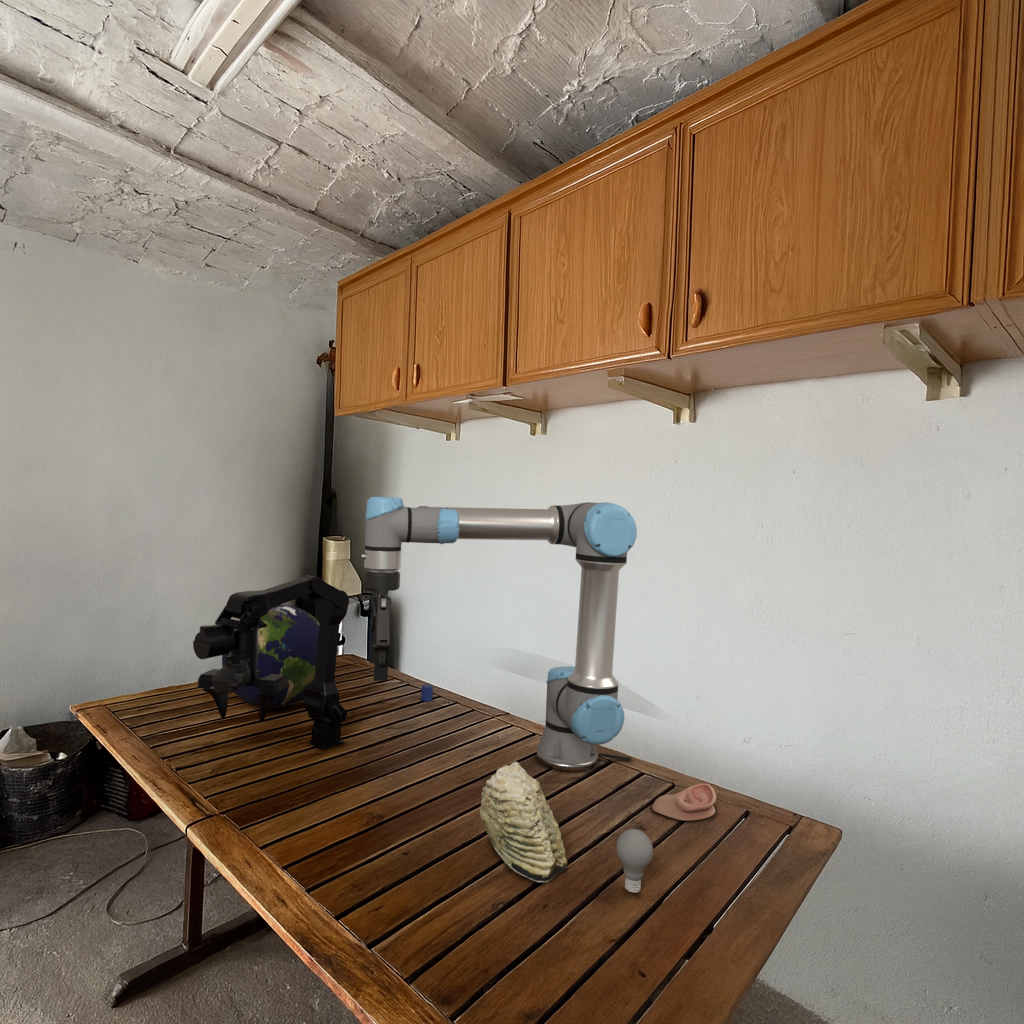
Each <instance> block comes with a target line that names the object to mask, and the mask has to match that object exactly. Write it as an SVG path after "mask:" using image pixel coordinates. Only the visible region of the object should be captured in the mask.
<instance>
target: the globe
mask: <svg viewBox="0 0 1024 1024" xmlns="http://www.w3.org/2000/svg"><path fill="white" fill-rule="evenodd" d="M261 620H262V621H263V622H264V623H266V624H267V627H265V628H259V629H258V652H261V657H259V658H258V663H257V670H260V675H258V676H257V678H265V677H266V676H268V675H270V674H279V675H286V677H287V678H288V687H287V688H285V689H284V690H282V691H280V692H279V693H277V694H276V696H275V698H274V699H273V701H272V703H271V705H270V707H269V709H282V708H285V707H289V706H293V705H295V704H298V703H299V702H301V701H303V700H304V689H305V688H306V687H310V686H311V684H312V683H313V681H314V677H315V666H316V656H317V645H318V635H319V621H318V619H317V618H315V616H314V615H312V614H311V613H310V612H308V611H305V610H304V609H302V608H299V607H297V606H292V605H290V604H289V605H288V604H281V605H278V606H275V607H274V608H272V609H271V610H270V611H269V612H268V613H267V614H266V615H264V616H262V617H261ZM227 656H230V653H229V654H225V655H221V666H222V667H221V668H223V667H224V666H225V660H226V657H227ZM249 682H251V681H249ZM259 693H261V692H260V691H259V690H258V687H254V686H244V687H238V688H237V690H236V691H235V692H234V693H233V694H235V695H236V696H237V697H238V698H239V699H240V700H242V701H244V702H245V703H247V704H248V705H251V706H254V707H258V708H260V699H259V697H258V696H257V695H258V694H259Z"/></svg>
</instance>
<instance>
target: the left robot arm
mask: <svg viewBox="0 0 1024 1024" xmlns="http://www.w3.org/2000/svg"><path fill="white" fill-rule="evenodd" d="M303 597H307V598H308V599H309V600H311V601H312V602H313V603H314V604H313V605H314V614H315V616H316V620H317V621H318V622H319V635H318V645H317V656H316V666H315V677H314V681H313V683H312V684H311V686H310V687H306V688H305V689H304V699H303V700H302V704H304V705H303V707H304V710H305V711H306V712H307V715H308V719H311V720H312V719H313V721H312V722H313V723H312V727H311V730H310V731H311V732H310V733H311V735H310V739H309V740H308V743H309V744H310V745H313V746H314V747H316V748H318V749H320V750H327V749H329V748H333V747H336V746H340V745H343V744H344V743H345V741H344V740H343V739H341V737H342V735H341V733H342V723H343V722H346V720H347V717H348V714H349V713H348V711H347V709H346V708H344V707H343V706H342V705H341V704H340V691H339V689H338V686H337V684H336V681H335V678H336V666H337V656H338V646H339V636H340V635H339V633H340V626H341V624H342V622H343V620H344V619H345V618H346V616H347V613H348V610H349V609H348V608H349V605H350V595H348V594H347V592H346V591H345V590H341V589H338V588H337V587H335V586H333V585H331V584H330V583H329V582H326V581H325V580H323V579H322V578H321V577H319V576H315V575H308V574H306V575H303V576H301V577H298V578H296V579H293V580H290V581H287V582H283V583H281V584H278V585H275V586H271V587H269V588H266V589H261V590H244V591H239V592H234V593H232V594H231V595H230V596H229V598H228V600H227V601H226V605H225V606H224V608H223V609H222V610H221V612H220V614H219V615H218V617H217V618H216V620H215V622H214V624H209V625H207V624H205V625H200V626H199V632H197V633H196V634H195V636H194V639H193V641H192V648H193V652H194V654H195V656H196V658H198V659H199V660H207V659H212V658H216V657H220V656H221V657H222V655H225V654H229V653H230V656H227V657H226V660H225V666H224V667H223V668H222V667H221V668H220V669H219V668H211V669H210V670H207V671H205V672H203V673H201V674H200V675H199V676H198V678H197V688H198V689H202V691H203V692H205V693H208V695H210V696H211V697H212V699H213V701H214V703H215V705H216V708H217V711H218V713H219V716H220V718H221V719H224V718H226V716H227V713H228V712H227V711H228V703H229V695H230V694H235V693H234V692H235V691H236V690H237V688H238V687H244V686H254V687H258V690H259V691H260V692H261V693H259V694H258V695H257V696H258V697H259V699H260V707H258V708H259V710H258V719H259V721H258V722H260V723H262V722H264V721H265V718H266V716H267V714H268V712H269V709H270V708H269V707H270V705H271V703H272V701H273V699H274V698H275V696H276V694H277V693H279V692H280V691H282V690H284V689H285V688H287V687H288V678H287V677H286V675H279V674H270V675H268V676H266V677H265V678H257V676H258V675H260V670H257V663H258V658H259V657H261V652H258V629H259V628H265V627H267V624H266V623H264V622H263V621H262V620H261V617H262V616H264V615H266V614H267V613H268V612H269V611H270V610H271V609H272V608H274V607H275V606H278V605H285V604H286V603H289V602H292V601H294V600H297V599H300V598H303ZM249 681H251V682H249Z"/></svg>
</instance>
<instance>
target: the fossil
mask: <svg viewBox="0 0 1024 1024" xmlns="http://www.w3.org/2000/svg"><path fill="white" fill-rule="evenodd" d="M479 819H480V820H481V822H482V823H483V827H484V829H485V832H486V833H487V836H488V838H489V840H490V842H491V844H492V845H493V848H494V850H495V852H496V853H497V854H498V856H500V858H501V859H502V861H503V862H504V863H505V864H506V865H507V867H509V868H510V869H511V870H513V871H514V873H517V874H519V875H520V876H522V877H525V878H527V879H528V880H531V881H533V882H536V883H548V882H550V881H552V880H553V879H554V878H555V877H556V876H557V875H560V874H561V873H563V872H564V871H565V870H566V868H567V867H568V866H569V863H568V859H567V856H566V848H565V847H564V841H563V838H562V834H561V831H560V826H559V824H558V822H557V821H556V818H555V817H554V813H553V811H552V810H551V807H550V805H549V803H548V802H547V799H546V796H545V794H544V790H543V789H542V786H541V784H540V781H539V780H537V779H535V778H533V777H532V776H531V775H529V773H528V772H527V771H526V769H524V768H523V766H521V764H520V763H519V762H518V761H513V762H512V763H511V764H509V765H507V764H506V765H504V766H502V767H500V768H498V769H497V770H496V772H495V773H494V774H492V775H491V776H490V778H489V779H487V780H486V782H485V786H483V788H482V792H481V802H480V808H479Z"/></svg>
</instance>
